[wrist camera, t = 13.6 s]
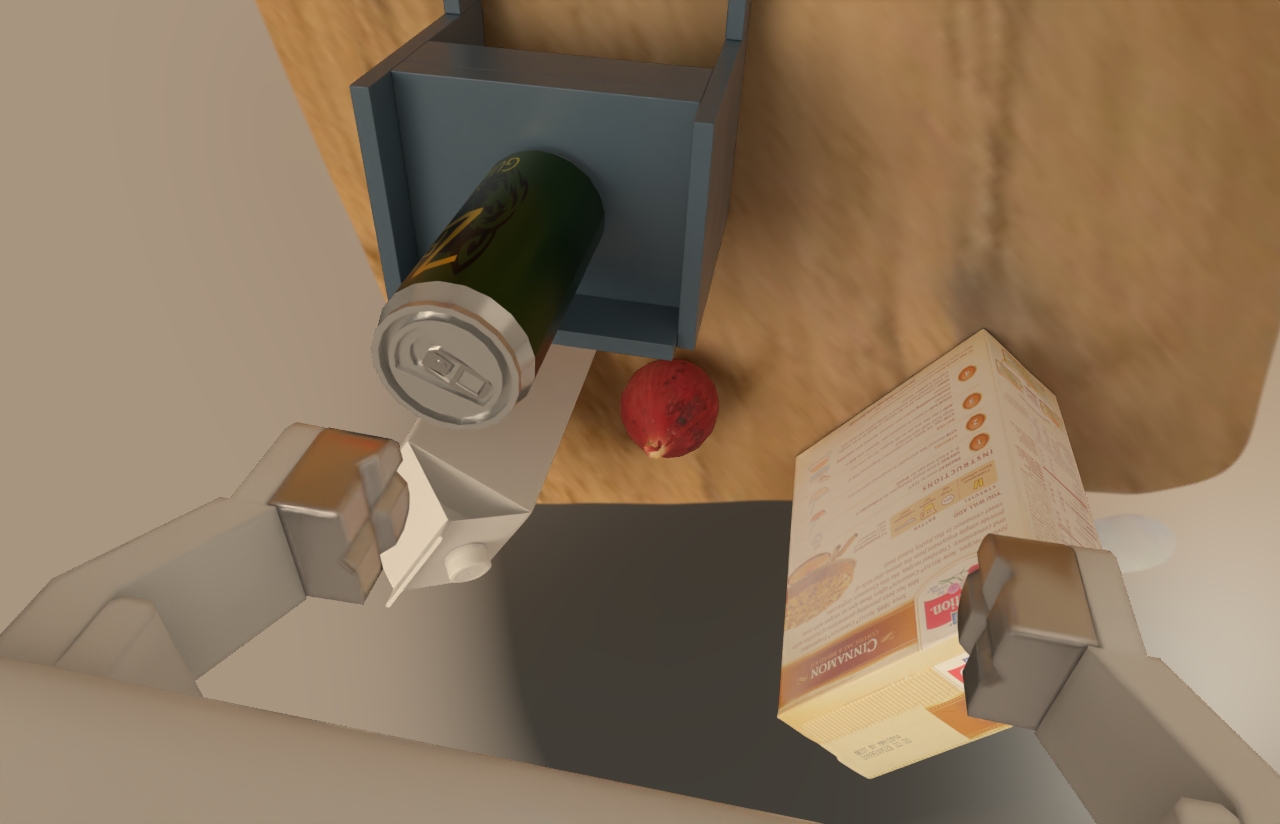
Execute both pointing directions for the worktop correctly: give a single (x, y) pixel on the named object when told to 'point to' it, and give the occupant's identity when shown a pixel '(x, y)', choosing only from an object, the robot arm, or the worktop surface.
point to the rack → (579, 130)
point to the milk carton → (480, 479)
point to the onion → (669, 408)
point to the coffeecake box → (915, 550)
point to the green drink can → (490, 293)
